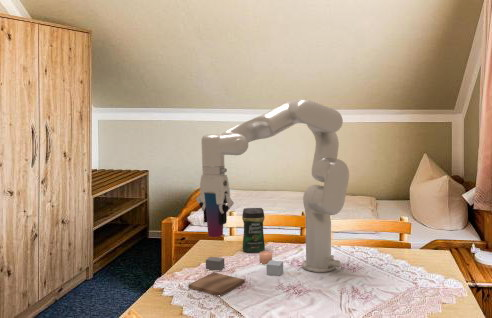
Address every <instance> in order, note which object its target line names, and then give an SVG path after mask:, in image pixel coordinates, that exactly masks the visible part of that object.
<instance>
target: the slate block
mask: <svg viewBox="0 0 492 318" xmlns="http://www.w3.org/2000/svg"><path fill="white" fill-rule="evenodd" d="M283 272H284V261H283V260H273V259H272V260H270V261H269V262H268V263H267V265H266V275H269V276H277V277H278V276H279V277H280V276H282V274H283Z"/></svg>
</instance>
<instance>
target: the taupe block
mask: <svg viewBox="0 0 492 318" xmlns="http://www.w3.org/2000/svg"><path fill="white" fill-rule="evenodd" d="M223 268H224V269H225V258H224V257H215V256H209V257H207V258H206V259H205V270H206V269H209V270H208V271H213V270H221V271H222V269H223ZM224 269H223V270H224Z"/></svg>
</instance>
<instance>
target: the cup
mask: <svg viewBox="0 0 492 318" xmlns="http://www.w3.org/2000/svg"><path fill="white" fill-rule="evenodd" d="M204 195H205V206H206V216H207V222H206V224H207V225H206V226H207V235H208V237H213V238H218V237H221V236H223V235H224V224H223V225H220V224H219V213H221V212H220V209H219V205H217V203H216V194H208V193H204ZM222 207H223V205H222Z"/></svg>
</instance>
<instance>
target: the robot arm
mask: <svg viewBox="0 0 492 318" xmlns="http://www.w3.org/2000/svg"><path fill="white" fill-rule="evenodd" d="M296 124H304V125H306V126H307V128H308V130H310V131H311V133H312V135H313V137H314V138H315V139H314V140H315V147H314V154H313V159H312V160H313V161H312V166H311V176H312V178H313V179H314V180H316V181H318V182H321V183H323V185H320V184H313V185H310V186H308V187H306V189H305V191H304V192H303V197H302V202H303V207H304V213H305V215H304V216H305V260H304V261H302V263H301V268H302V269H304V270H306V271H308V272H311V273H312V272H314V273H326V272H327V273H328V272H331V271H333V270H335V269H336V268H341V265H342V263H341V260H339V259H335V256H334V255H332V218H331V216H335V215H337V214H339V213H340V212H341V211H342V210H343V207H344V205H345V201H346V195H347V191H348V185H349V181H350V180H349V178H350V171H349V167H348V165H347V163H345V161H344V160H342V159H340V158H339V159H338V154H339V146H340V145H339V144H340V143H339V137H338V134H337V132H338V131H340V129H341V128H342V126H343V116H342V114H341V113H340V112H339V111H338V110H336V109H334V108H332V107H328V106H326V105H324V104H321V103H319V102H316V101H313V100H311V99H307V98H301V99H290V100H288V101H286V102H284V103H282V104H281V105H278V106H276V107H274V108H273V109H271V110H268V111H267V112H265V113H263V114H261V115H258V116H256V117H254V118H251V119H249V120H246V121H244V122H242V123H239V124H238V125H235V126H233V127H231V128H229V129H228V130H226V131H224V132H223V133H221V134H217V133H215V134H213V133H212V134H205V135H202V136H201V166H202V171H201V172H202V174H201V177H200V183H199V185H200V186H199V195H198V196H197V197H196V198H195V200H196V202H197V203H198V204H199V207H200V208H201V211H202V212H203V222H204V223H205V224H207V216H206V206H205V195H204V193H208V194H216V203H217V205H219V209H220V212H221V213H219V224H220V225H223V226H224V225H226V224H227V220H228V219H227V215H228V214H227V213H228V212H229V210H230V209H231V208H232V206H234V203H235V202H234V201H233V199H232V198H231V191H230V183H229V177H228V175H227V174H226V173H227V171H228V169H227V168H225V167H226V166H225V156H226V155H227V156H241V155H243V154H245V153H246V152H247V151H248V148H249V143H250V142H253V141H254V142H255V141H257V140H265V139H269V138H272V137H274V136H276V135H278V134H280V133H281V132H284V131H286V130H287V129H289V128H291V127H293V126H294V125H296ZM222 205H223V207H222Z"/></svg>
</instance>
